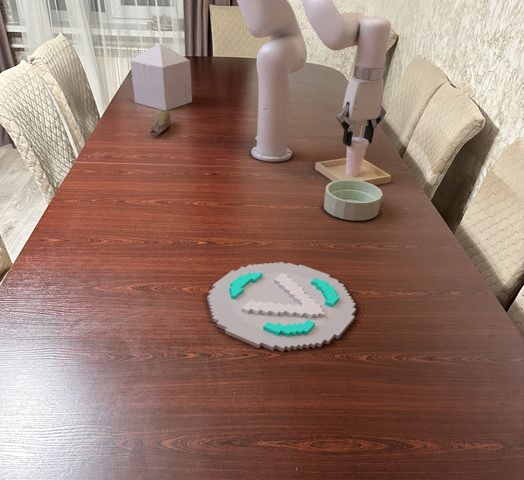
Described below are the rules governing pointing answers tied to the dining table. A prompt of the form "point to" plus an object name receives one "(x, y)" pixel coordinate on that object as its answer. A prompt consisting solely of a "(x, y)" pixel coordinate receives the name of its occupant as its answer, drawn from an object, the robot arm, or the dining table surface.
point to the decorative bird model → (161, 122)
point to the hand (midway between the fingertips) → (357, 142)
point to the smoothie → (356, 154)
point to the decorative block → (161, 78)
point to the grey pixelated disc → (281, 306)
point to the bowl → (352, 199)
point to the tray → (366, 174)
